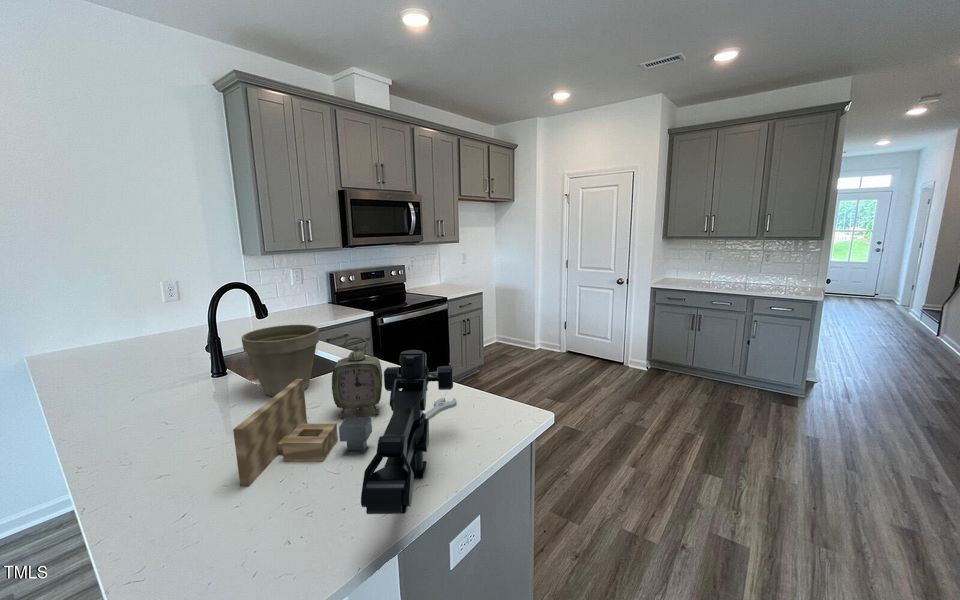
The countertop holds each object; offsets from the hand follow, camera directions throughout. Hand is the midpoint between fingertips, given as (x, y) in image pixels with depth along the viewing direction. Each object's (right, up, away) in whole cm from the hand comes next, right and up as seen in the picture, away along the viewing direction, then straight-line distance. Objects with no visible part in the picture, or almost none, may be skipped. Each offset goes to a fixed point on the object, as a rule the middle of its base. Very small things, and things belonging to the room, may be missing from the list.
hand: (422, 369), depth 118 cm
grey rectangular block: (-15, -19, -13) cm, 28 cm away
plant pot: (-54, -12, +28) cm, 62 cm away
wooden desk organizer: (-30, -19, -13) cm, 38 cm away
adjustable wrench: (+1, -16, +7) cm, 17 cm away
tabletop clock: (-21, -16, +9) cm, 28 cm away
